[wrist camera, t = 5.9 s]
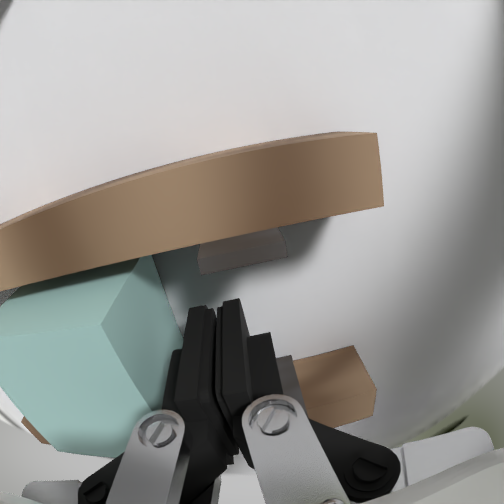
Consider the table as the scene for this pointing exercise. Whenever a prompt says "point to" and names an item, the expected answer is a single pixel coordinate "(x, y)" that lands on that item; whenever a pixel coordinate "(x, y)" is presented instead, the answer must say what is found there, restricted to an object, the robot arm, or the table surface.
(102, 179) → the table surface
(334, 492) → the robot arm
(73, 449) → the block
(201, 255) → the wooden rail pair
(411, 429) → the table surface
